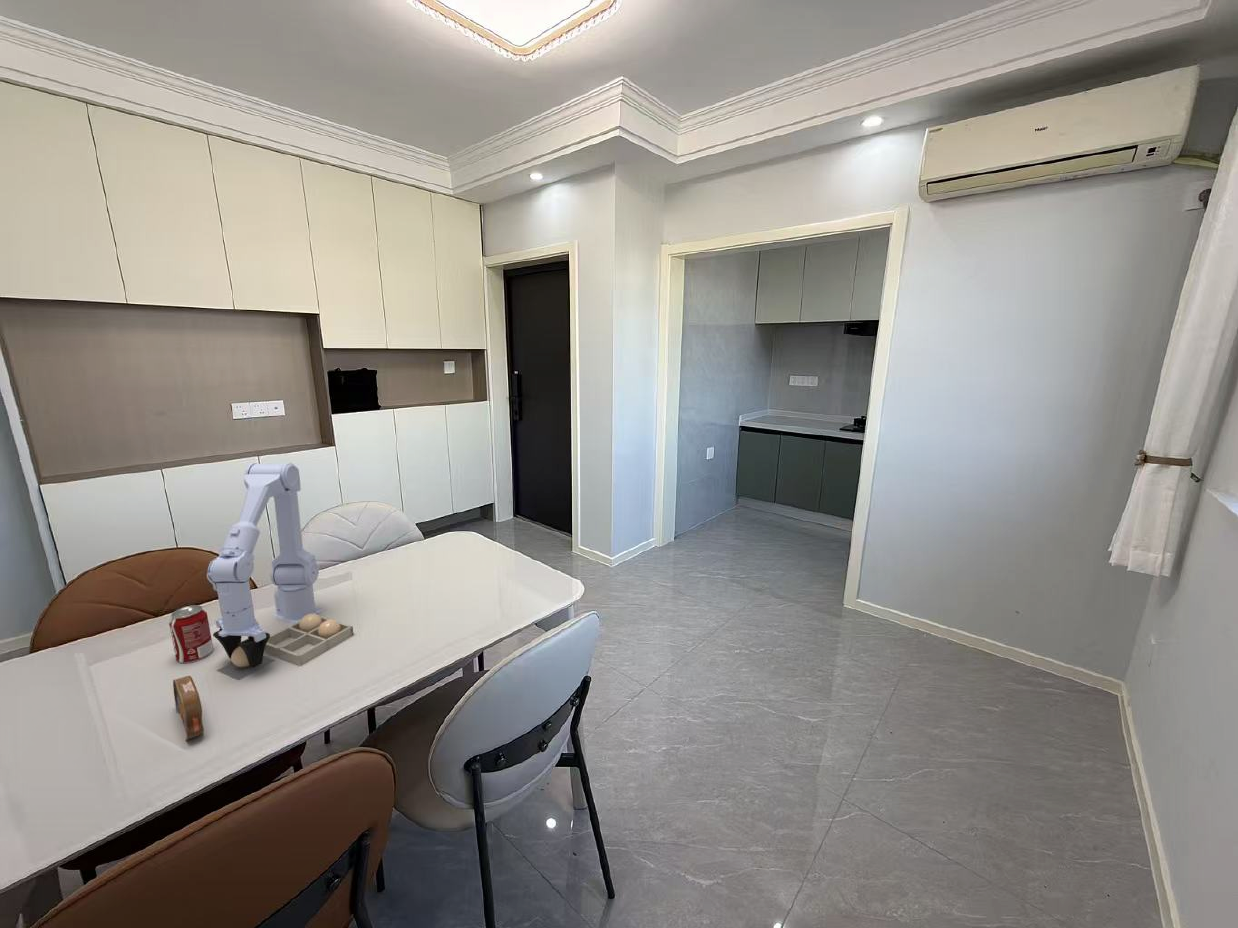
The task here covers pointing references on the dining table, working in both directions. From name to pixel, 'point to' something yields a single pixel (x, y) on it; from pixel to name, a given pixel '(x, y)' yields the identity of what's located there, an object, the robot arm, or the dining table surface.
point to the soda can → (190, 634)
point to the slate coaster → (243, 669)
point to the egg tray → (304, 642)
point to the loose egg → (239, 658)
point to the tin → (188, 706)
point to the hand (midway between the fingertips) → (245, 660)
